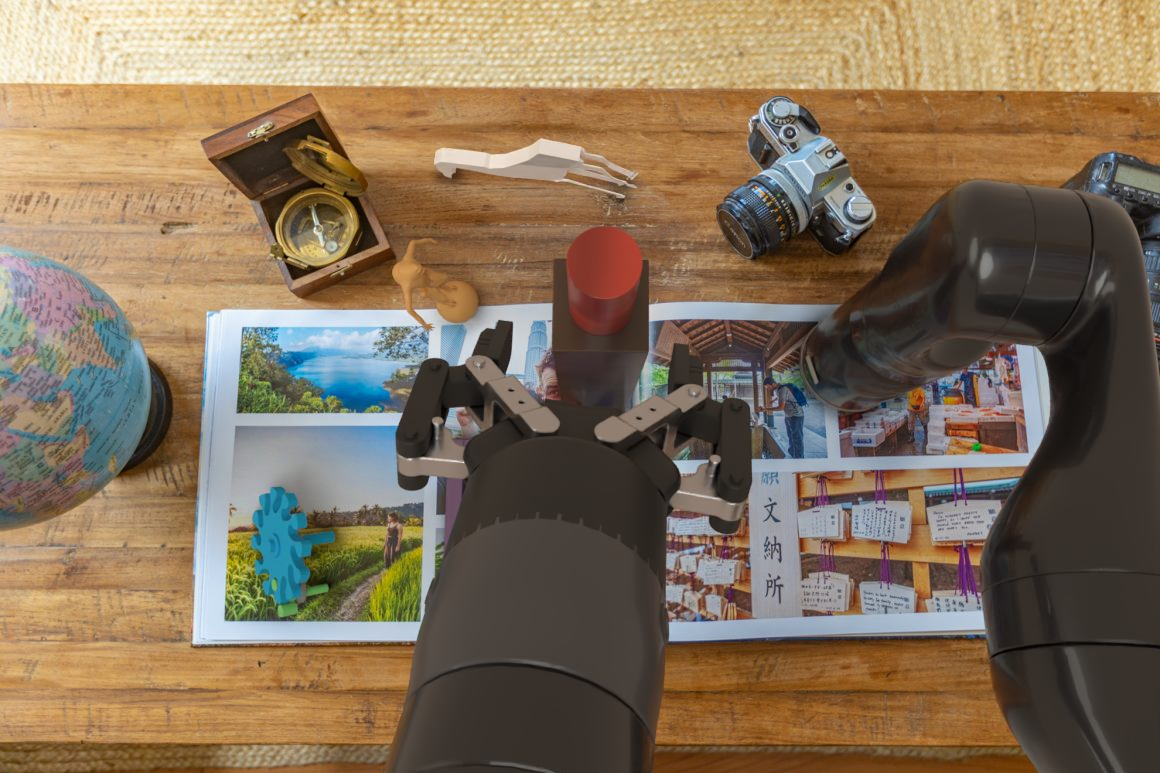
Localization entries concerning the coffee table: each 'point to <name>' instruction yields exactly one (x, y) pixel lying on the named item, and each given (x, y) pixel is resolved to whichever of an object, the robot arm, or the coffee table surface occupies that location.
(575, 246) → the red cylinder
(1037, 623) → the robot arm
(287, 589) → the gear
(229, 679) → the coffee table surface
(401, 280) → the figurine
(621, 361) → the stand
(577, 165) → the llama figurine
